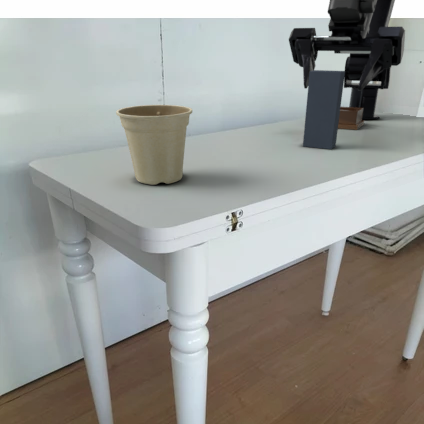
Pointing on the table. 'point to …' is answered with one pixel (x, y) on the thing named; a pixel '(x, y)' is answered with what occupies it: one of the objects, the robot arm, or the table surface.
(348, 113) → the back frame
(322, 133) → the back pad
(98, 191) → the table surface
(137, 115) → the flower pot
